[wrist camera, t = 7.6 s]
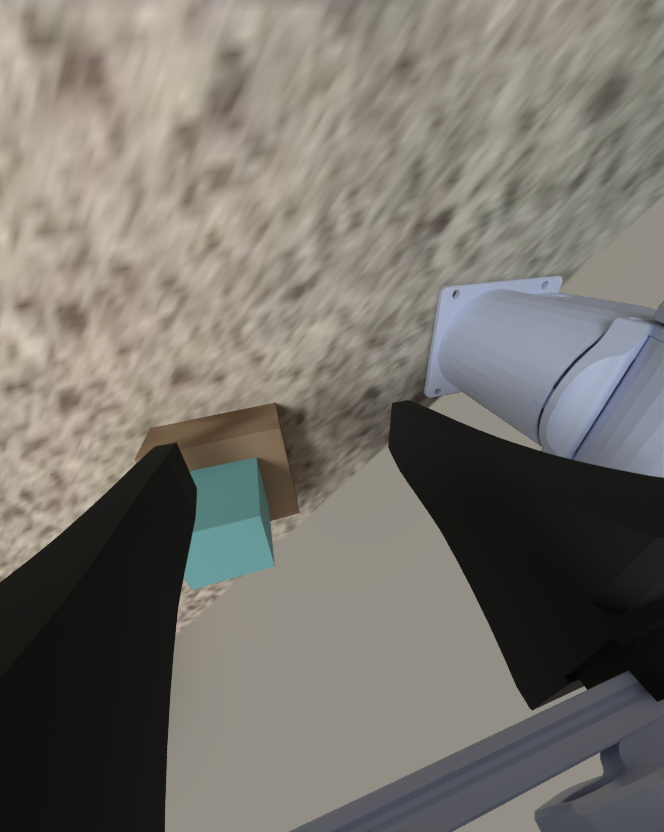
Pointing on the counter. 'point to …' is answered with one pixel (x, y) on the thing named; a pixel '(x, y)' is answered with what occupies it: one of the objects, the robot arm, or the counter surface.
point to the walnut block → (235, 449)
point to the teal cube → (229, 524)
